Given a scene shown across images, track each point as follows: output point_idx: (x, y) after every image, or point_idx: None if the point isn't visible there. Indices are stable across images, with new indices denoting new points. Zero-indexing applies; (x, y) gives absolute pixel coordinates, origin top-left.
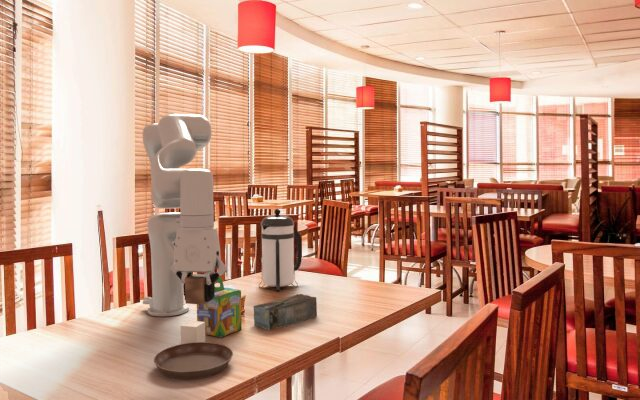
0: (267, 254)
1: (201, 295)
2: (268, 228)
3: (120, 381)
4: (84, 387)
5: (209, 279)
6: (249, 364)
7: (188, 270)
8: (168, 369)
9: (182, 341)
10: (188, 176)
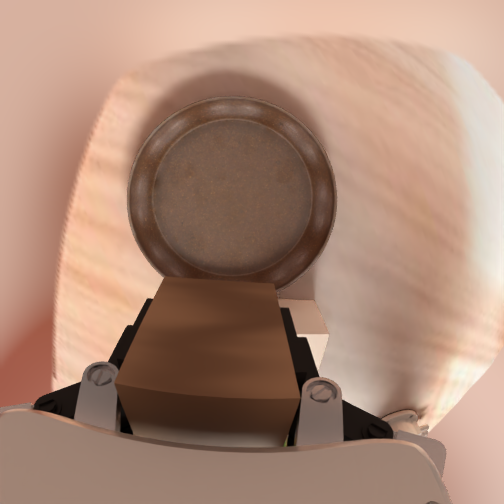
0: None
1: (160, 303)
2: None
3: (364, 95)
4: (411, 70)
5: (86, 388)
6: (111, 239)
7: (253, 456)
8: (284, 162)
9: (313, 309)
10: None
